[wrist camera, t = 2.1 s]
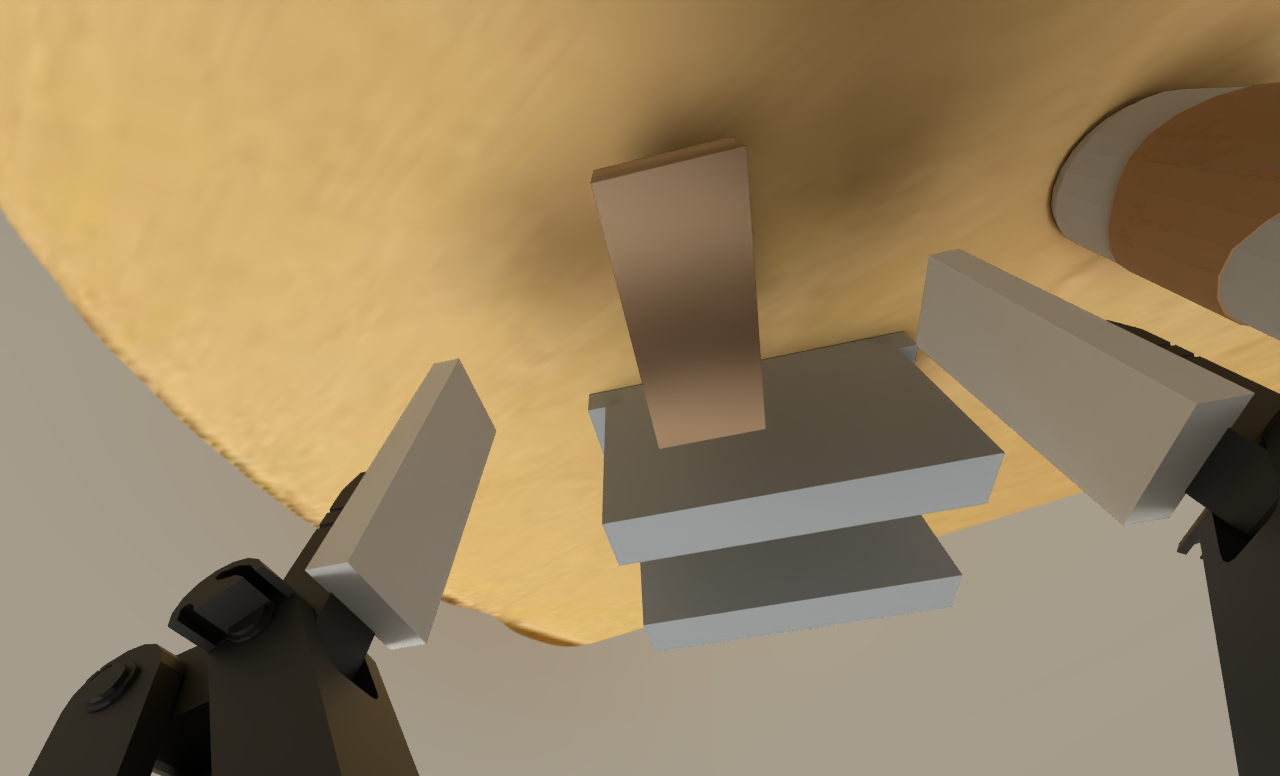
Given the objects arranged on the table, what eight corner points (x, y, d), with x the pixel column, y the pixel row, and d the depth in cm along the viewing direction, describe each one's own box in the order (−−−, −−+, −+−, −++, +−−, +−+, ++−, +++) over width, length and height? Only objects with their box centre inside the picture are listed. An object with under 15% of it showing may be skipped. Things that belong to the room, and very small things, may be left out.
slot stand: (589, 395, 27) (579, 528, 19) (903, 331, 25) (1032, 447, 17) (631, 517, 33) (637, 654, 25) (883, 472, 32) (971, 604, 24)
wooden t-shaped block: (598, 136, 19) (586, 184, 11) (692, 113, 19) (750, 145, 11) (642, 323, 24) (656, 449, 16) (716, 308, 24) (768, 428, 16)
